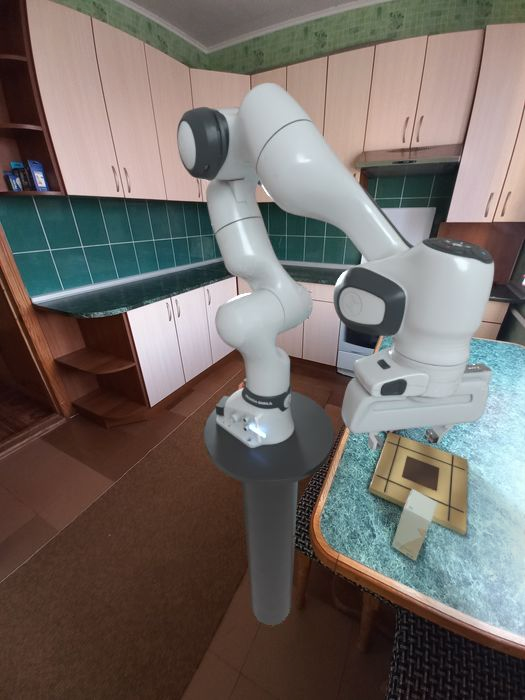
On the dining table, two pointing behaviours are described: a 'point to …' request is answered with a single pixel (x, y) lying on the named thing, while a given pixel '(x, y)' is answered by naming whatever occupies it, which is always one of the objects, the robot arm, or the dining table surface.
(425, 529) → the box
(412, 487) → the board
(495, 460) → the dining table surface
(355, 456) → the dining table surface
